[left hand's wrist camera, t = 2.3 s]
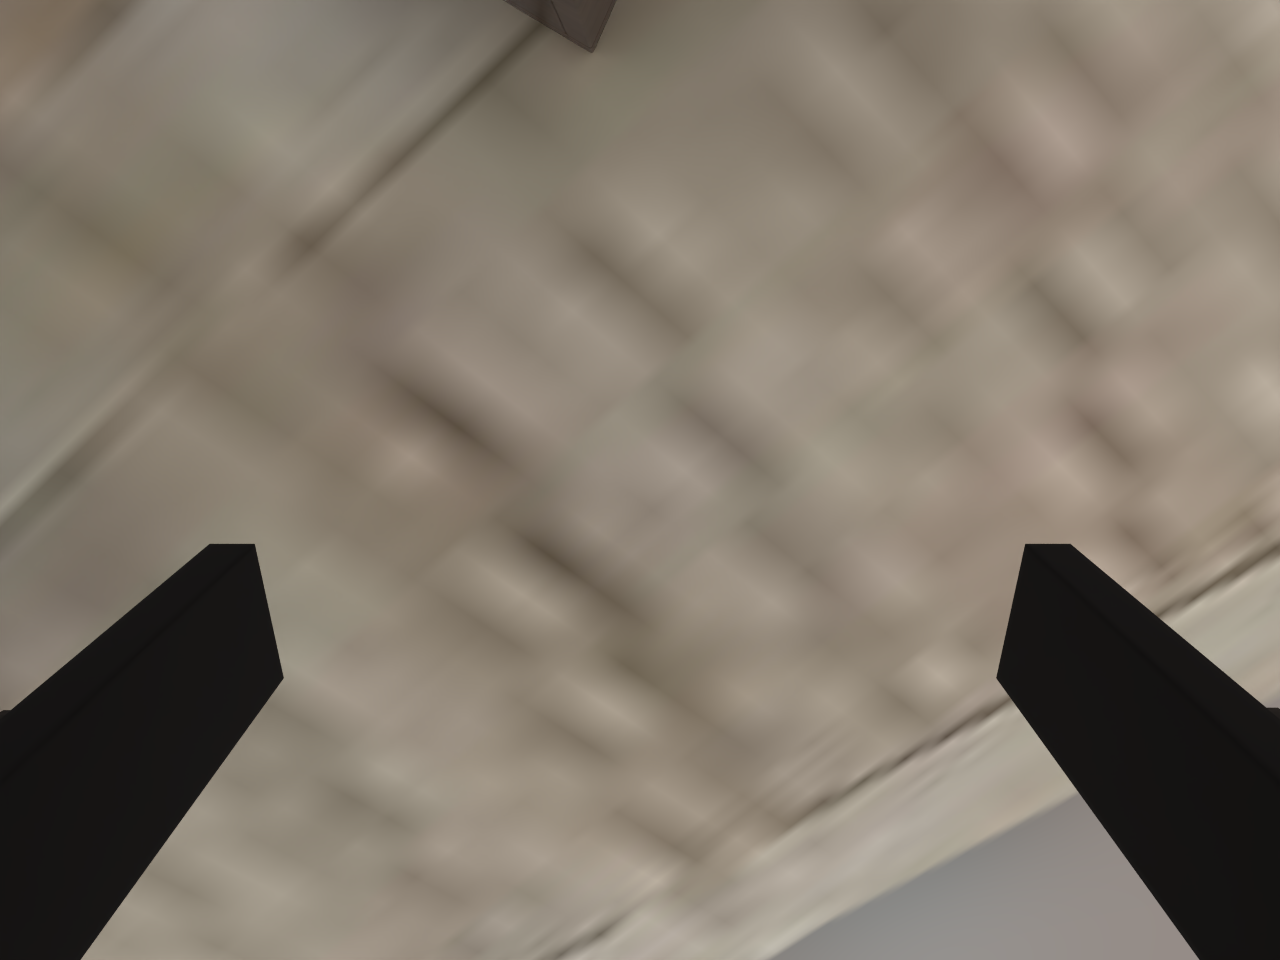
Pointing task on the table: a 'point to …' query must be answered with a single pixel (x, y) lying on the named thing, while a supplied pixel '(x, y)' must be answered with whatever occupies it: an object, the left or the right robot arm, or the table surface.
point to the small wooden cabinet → (570, 17)
